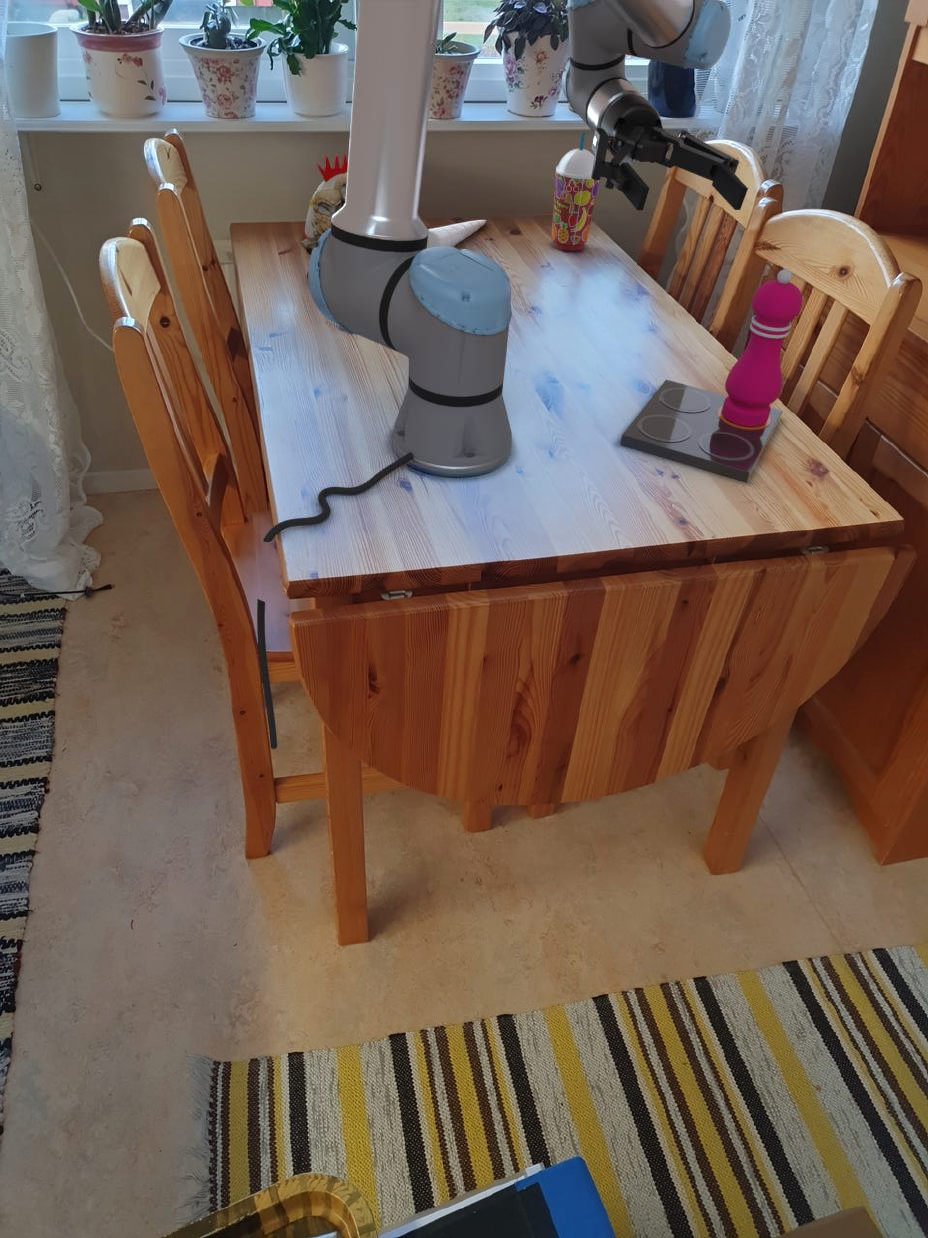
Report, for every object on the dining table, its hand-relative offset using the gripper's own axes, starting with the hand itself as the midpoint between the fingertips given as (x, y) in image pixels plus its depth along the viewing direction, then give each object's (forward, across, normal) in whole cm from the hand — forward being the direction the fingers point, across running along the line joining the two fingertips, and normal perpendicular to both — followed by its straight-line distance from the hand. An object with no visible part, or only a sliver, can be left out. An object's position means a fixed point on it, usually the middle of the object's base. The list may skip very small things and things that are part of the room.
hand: (693, 199), depth 112 cm
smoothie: (-57, -15, -38) cm, 70 cm away
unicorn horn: (-63, +6, -39) cm, 74 cm away
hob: (+12, -5, -26) cm, 29 cm away
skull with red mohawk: (-66, +27, -41) cm, 82 cm away
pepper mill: (+12, -11, -24) cm, 29 cm away
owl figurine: (-47, +30, -37) cm, 67 cm away
